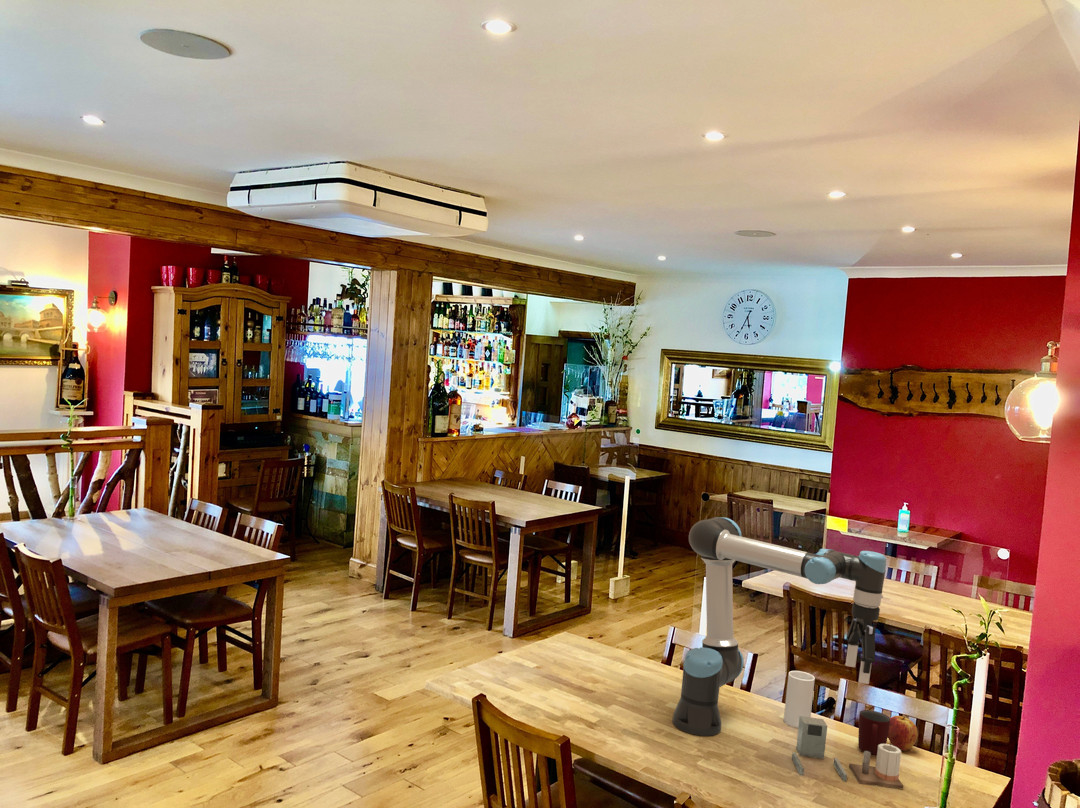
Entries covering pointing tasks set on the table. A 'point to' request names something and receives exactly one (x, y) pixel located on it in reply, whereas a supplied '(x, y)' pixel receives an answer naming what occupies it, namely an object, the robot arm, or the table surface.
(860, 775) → the brown peg board
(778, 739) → the table surface
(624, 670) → the table surface
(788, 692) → the cup
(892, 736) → the apple
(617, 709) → the table surface
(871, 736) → the mug
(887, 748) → the sleeve
